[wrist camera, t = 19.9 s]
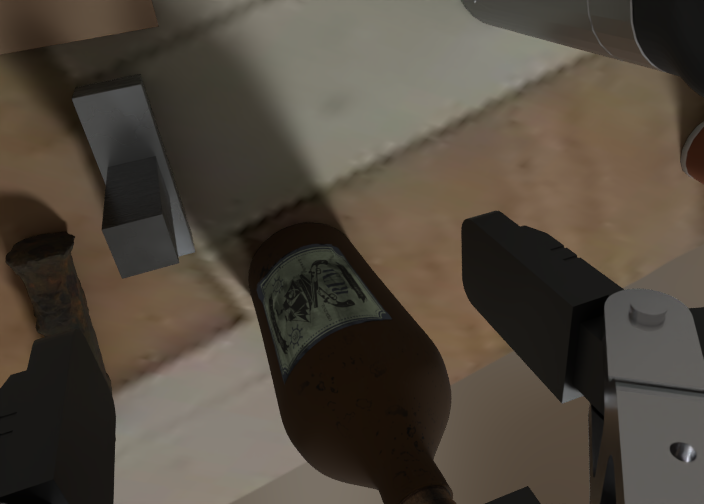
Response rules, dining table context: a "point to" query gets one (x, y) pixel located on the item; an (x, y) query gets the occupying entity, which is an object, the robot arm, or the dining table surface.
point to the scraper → (133, 177)
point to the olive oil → (350, 366)
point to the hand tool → (54, 287)
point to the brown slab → (68, 21)
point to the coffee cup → (694, 154)
